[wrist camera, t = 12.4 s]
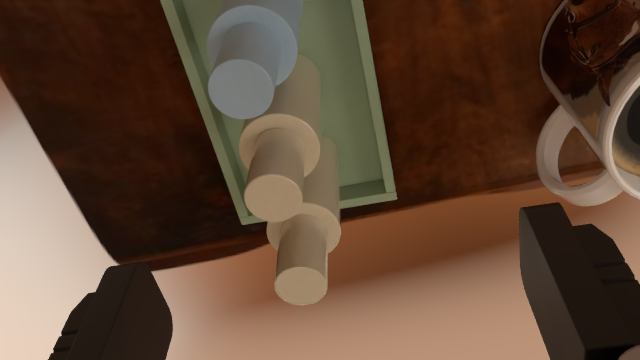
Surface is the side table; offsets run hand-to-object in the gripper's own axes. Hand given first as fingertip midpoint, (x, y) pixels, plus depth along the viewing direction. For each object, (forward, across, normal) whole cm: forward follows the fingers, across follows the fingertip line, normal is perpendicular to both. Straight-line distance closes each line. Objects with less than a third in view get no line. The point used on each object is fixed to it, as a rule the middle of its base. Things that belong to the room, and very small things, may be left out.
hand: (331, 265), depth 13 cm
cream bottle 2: (+26, +4, +13) cm, 30 cm away
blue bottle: (+26, +4, +2) cm, 27 cm away
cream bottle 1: (+26, +4, +8) cm, 27 cm away
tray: (+27, +4, +8) cm, 28 cm away
